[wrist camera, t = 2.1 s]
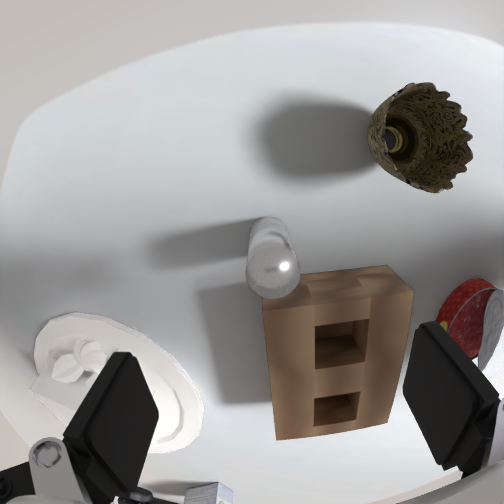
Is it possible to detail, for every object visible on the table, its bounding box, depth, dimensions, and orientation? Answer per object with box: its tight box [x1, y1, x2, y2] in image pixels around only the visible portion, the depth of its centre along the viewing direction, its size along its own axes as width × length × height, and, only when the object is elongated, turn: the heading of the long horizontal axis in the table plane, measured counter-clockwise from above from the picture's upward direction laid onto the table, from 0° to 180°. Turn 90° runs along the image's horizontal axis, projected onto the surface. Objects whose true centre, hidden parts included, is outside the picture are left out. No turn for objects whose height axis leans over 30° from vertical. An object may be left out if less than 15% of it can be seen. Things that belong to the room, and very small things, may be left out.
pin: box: [246, 216, 300, 299], centre depth 22 cm, size 3×3×9 cm
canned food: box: [436, 278, 504, 372], centre depth 26 cm, size 11×10×10 cm
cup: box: [368, 82, 473, 193], centre depth 19 cm, size 8×7×8 cm
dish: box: [29, 312, 204, 453], centre depth 28 cm, size 25×25×11 cm
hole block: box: [262, 265, 414, 440], centre depth 27 cm, size 12×16×6 cm
